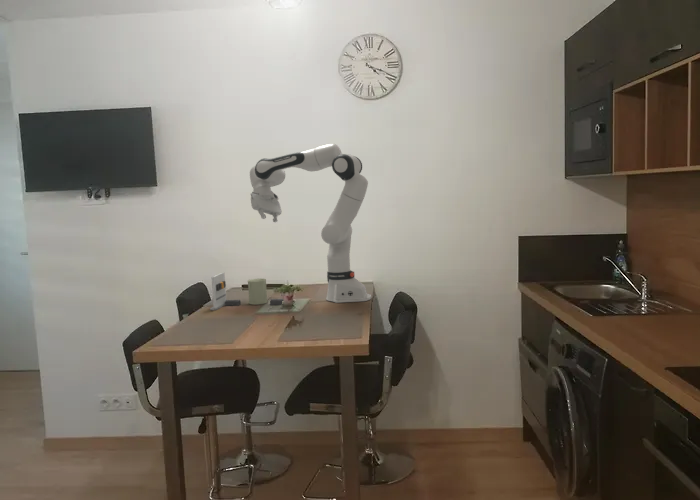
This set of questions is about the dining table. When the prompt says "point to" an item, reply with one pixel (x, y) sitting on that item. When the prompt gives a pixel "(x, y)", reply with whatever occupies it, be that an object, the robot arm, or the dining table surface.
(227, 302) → the cover
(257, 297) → the can
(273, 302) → the cover
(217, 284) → the panel
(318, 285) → the dining table surface
